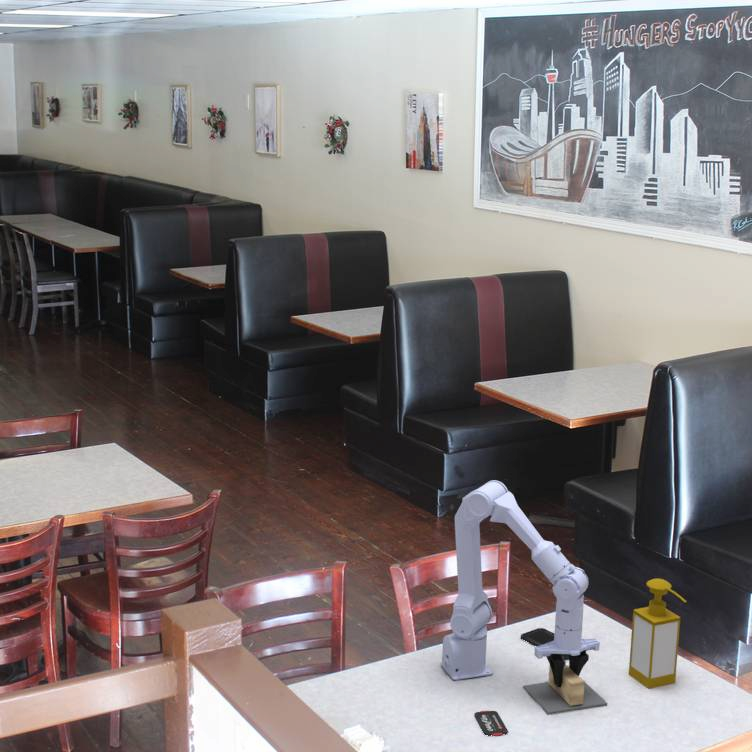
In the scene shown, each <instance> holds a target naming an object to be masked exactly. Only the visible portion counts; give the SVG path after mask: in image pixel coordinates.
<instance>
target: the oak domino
mask: <svg viewBox="0 0 752 752" xmlns="http://www.w3.org/2000/svg"><path fill="white" fill-rule="evenodd" d="M548 669H549V672H548V682H549V684H550V685H551V686H552V687H553V688H554V690H555V691H556V692H557V693H558V694H559V695H560V696H561V697H562V698H563V699H564V700H565V701H566V702H567V703H568V704H569V705H570V706H572V705H578V704H583V696H584V681H585V680H583V678H581V676H580V675H579V676H578V675H577V674H576V673H574V672H573V671H572V670H571V669H570V668H569V665H567V663H565V666H564V670H563V676H562V685H561V687H557V686H556V685H555V684H554V678H553V673H552V670H551V666H550V665H549V667H548Z"/></svg>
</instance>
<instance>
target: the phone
mask: <svg viewBox="0 0 752 752" xmlns="http://www.w3.org/2000/svg"><path fill="white" fill-rule="evenodd" d="M554 634H555V632H552V631H550V630H548V629H547V628H543V627H539V628H538V627H537V628H535V629H532V630H529V631H527V632H524V633H521V634H520V640H522V639H523V640H525V641H527V642H529V643H531V644H532V645H531V644H530V645H531V646H533V645H535V646H541V645H544V644H546V643H549V642H551V641H554ZM523 640H522V641H523ZM525 641H524V642H525ZM527 642H526V643H527ZM529 643H528V644H529ZM535 646H534V647H535ZM561 656H562V659H563V660H565V662H566V660H567V661H569V654H561Z"/></svg>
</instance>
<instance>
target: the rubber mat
mask: <svg viewBox="0 0 752 752" xmlns="http://www.w3.org/2000/svg"><path fill="white" fill-rule="evenodd" d="M583 681H584V696H583V704H578V705H572V706H570V705H569V704H568V703H567V702H566V701H565V700H564V699H563V698H562V697H561V696H560V695H559V694H558V693H557V692H556V691H555V690H554V688H553V687H552V686H551V685H550V684H549V681H546V682H539V683H538V682H537V683H532V684H525V685H522V689H523V688H524V689H525V690H526V691H527V692H528V693H529V694H530V695H529V694H528V693H527V692H526V691H525V690H524V689H523V690H524V691H525V692H526V693H527V694H528V695H529V696H530V697H531V698H532V697H533V698H532V699H533V701H534V702H535V703H536V702H537V703H538V704H539V705H540V706H541V707H542V708H543V709H542V708H541V707H540V706H539V705H538V704H537V703H536V704H537V705H538V706H539V707H540V708H541V709H542V710H543V711H544V712H545V714H546V715H549V714H550V715H555V714H560V713H561V714H563V713H567V712H573V711H580V710H586V709H593V708H598V707H605V706H608V702H607V701H606V700H605V699H604V698H603V697H601V696H600V694H598V693H597V692H596V690H594V689H593V688H592V686H590V685H589V684H588V683H587V682H585V680H583Z"/></svg>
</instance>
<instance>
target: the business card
mask: <svg viewBox="0 0 752 752" xmlns="http://www.w3.org/2000/svg"><path fill="white" fill-rule="evenodd" d="M473 716H474V718H475V721H476V722H477V724H478V726H479V728H480V729H482V730H481V731H483V732H482V733H484V734H485V735H488V736H487V737H493V736H495V737H502V736H505V735H506V734H507V733H509V730H508V729H507V727H506V725H505V723H504V721H503V719H502V717H501V716H500V714H499V712H498V711H496V710H481V711H476V712H474V715H473ZM484 734H483V735H484ZM503 734H505V735H503ZM485 735H484V736H485ZM491 735H492V736H491ZM501 735H502V736H501ZM507 735H508V734H507Z"/></svg>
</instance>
